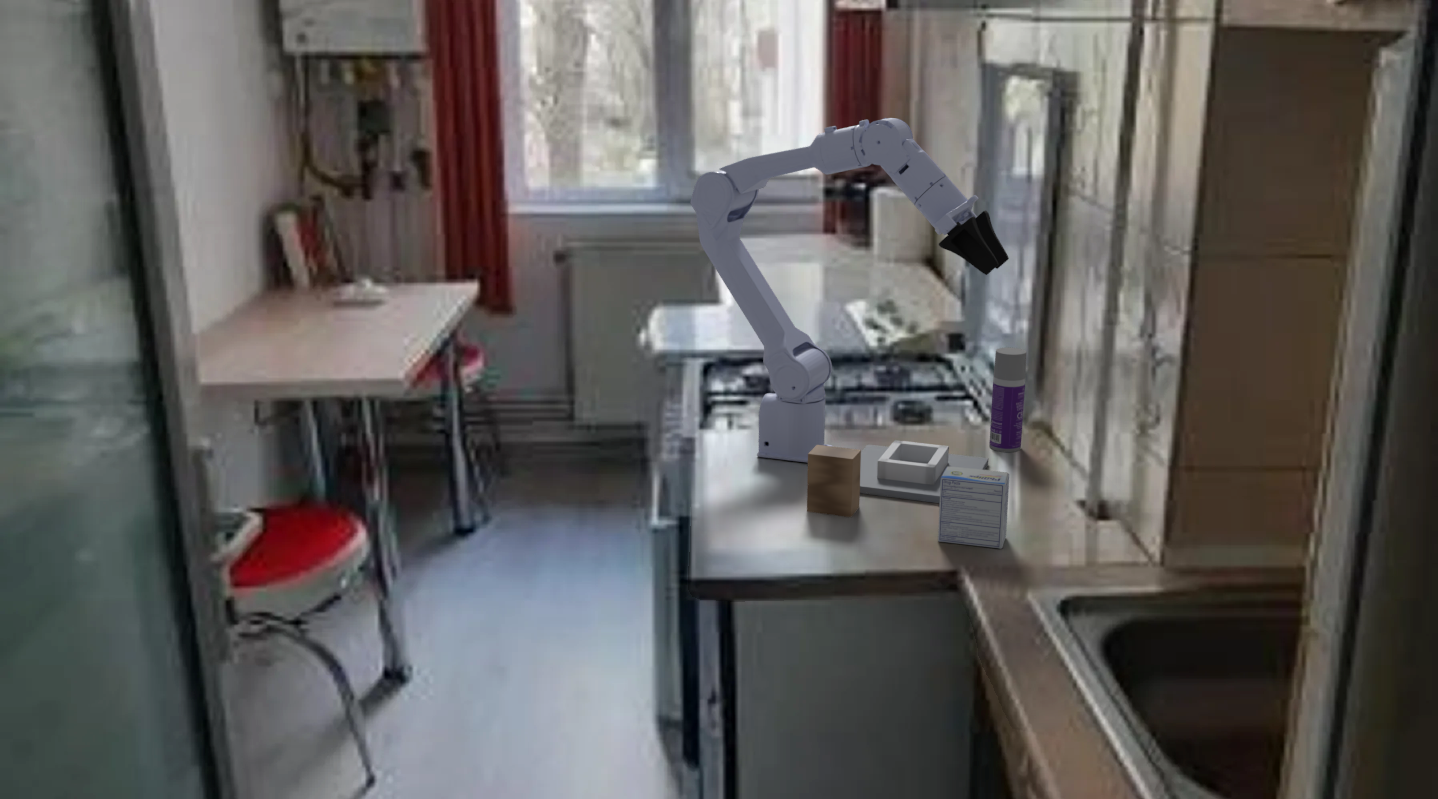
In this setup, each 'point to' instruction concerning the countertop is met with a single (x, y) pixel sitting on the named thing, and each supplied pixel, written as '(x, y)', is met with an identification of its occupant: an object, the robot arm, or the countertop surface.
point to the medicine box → (973, 507)
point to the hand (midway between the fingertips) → (998, 266)
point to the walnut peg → (833, 480)
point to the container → (1008, 399)
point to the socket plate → (910, 469)
